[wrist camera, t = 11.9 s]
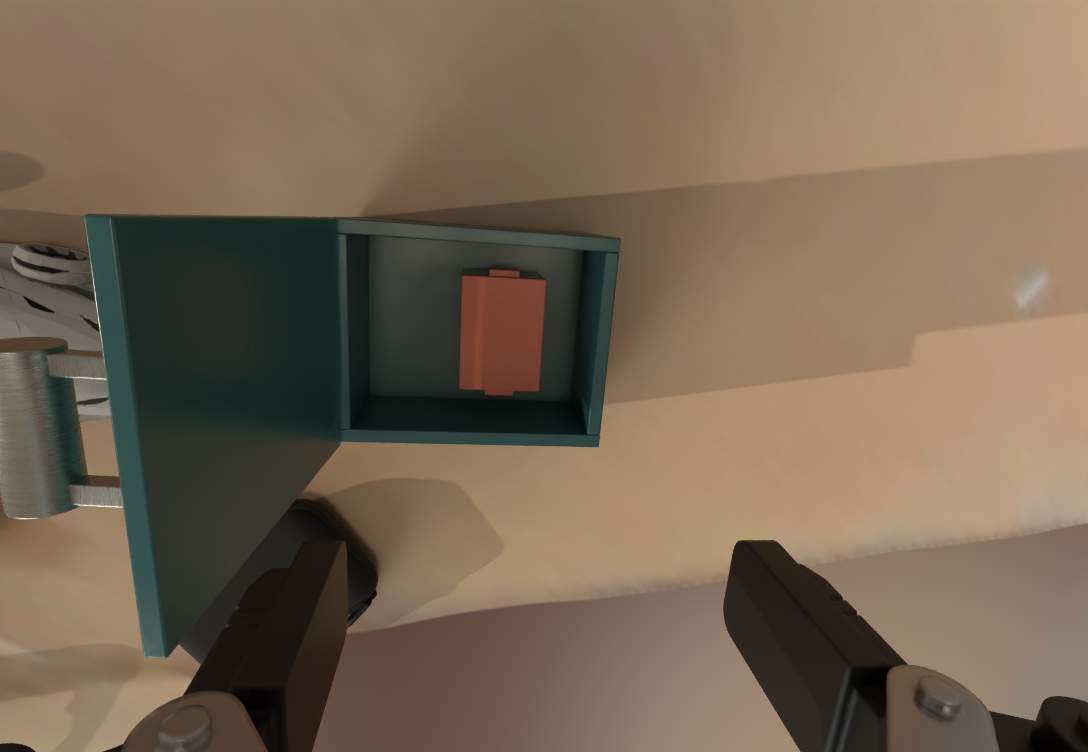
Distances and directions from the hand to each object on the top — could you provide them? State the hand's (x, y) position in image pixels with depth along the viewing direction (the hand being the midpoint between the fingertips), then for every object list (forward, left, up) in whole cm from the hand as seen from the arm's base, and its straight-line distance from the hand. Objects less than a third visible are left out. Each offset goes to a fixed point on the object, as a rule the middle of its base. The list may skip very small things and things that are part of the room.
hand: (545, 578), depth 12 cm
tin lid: (0, -9, -13) cm, 16 cm away
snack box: (0, 0, -28) cm, 28 cm away
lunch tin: (0, -1, -29) cm, 29 cm away
